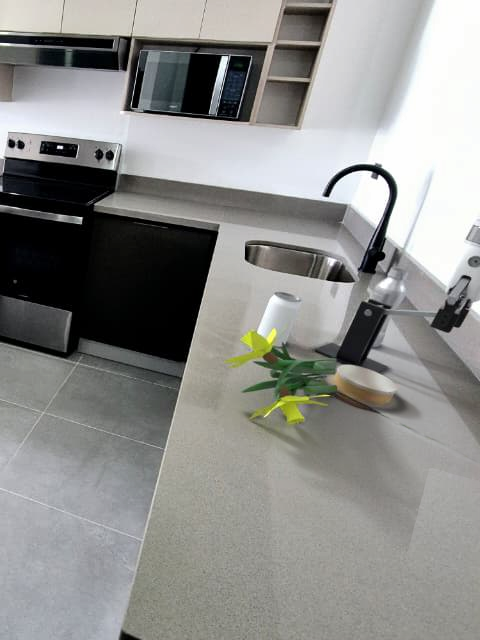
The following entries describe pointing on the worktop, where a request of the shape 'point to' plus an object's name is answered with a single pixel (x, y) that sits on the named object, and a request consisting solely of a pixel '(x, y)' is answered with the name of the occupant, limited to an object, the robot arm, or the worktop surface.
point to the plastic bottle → (390, 295)
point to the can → (280, 316)
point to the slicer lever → (409, 312)
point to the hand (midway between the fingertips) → (445, 326)
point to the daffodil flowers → (286, 375)
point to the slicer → (360, 337)
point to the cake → (363, 386)
